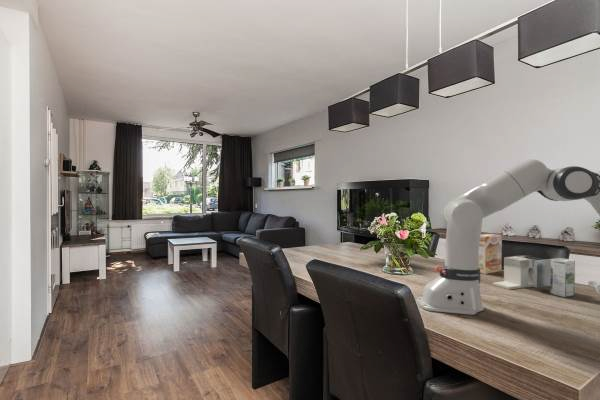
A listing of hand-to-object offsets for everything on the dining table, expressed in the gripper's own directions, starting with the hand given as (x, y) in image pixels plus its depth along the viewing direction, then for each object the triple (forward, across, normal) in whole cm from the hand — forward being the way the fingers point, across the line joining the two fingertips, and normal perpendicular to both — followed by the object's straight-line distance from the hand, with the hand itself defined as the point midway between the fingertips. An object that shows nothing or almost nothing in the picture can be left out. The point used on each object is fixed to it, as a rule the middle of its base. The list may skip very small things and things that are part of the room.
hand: (597, 282), depth 122 cm
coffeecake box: (+54, -9, +8) cm, 56 cm away
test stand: (+29, 0, +8) cm, 30 cm away
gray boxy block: (+23, 0, +6) cm, 24 cm away
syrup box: (+12, 0, +8) cm, 15 cm away
